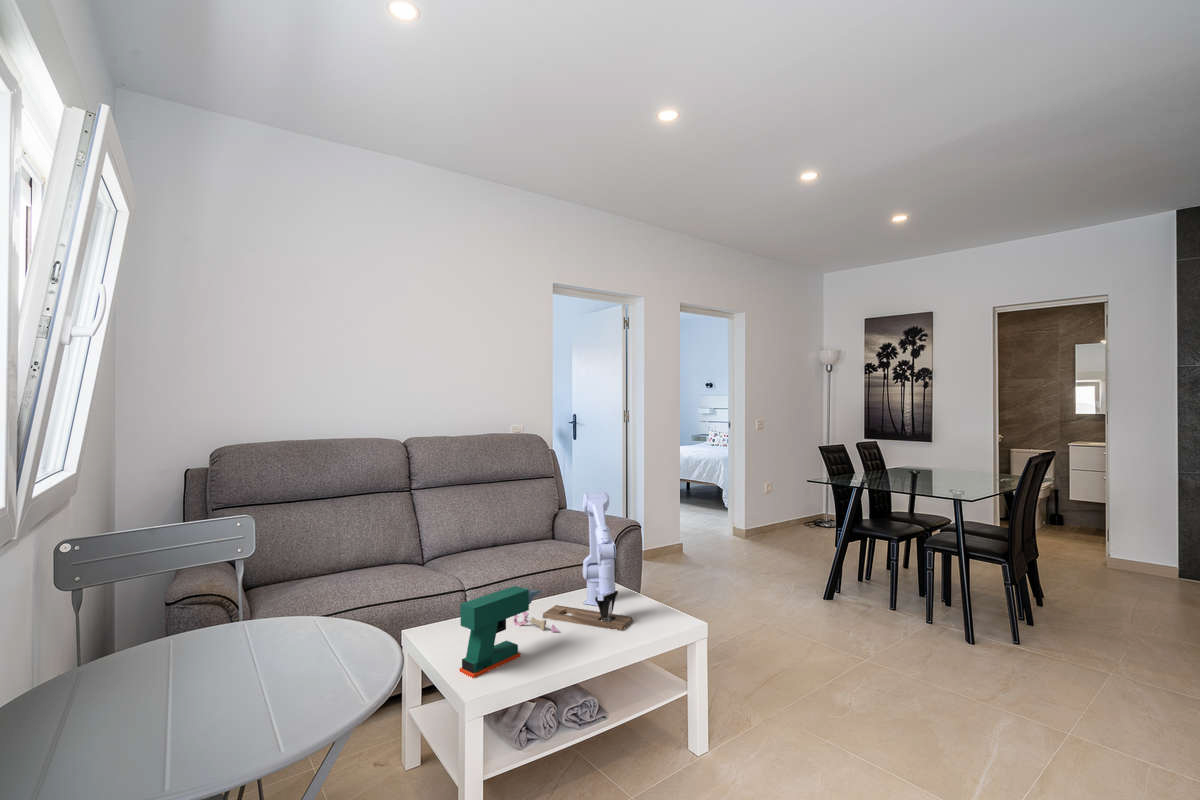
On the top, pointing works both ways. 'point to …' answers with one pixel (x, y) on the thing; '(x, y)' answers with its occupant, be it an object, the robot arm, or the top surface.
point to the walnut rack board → (587, 617)
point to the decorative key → (540, 623)
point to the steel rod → (609, 614)
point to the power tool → (491, 628)
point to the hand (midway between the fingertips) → (607, 614)
